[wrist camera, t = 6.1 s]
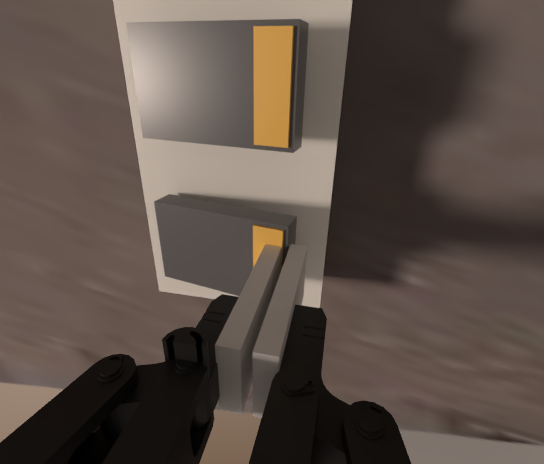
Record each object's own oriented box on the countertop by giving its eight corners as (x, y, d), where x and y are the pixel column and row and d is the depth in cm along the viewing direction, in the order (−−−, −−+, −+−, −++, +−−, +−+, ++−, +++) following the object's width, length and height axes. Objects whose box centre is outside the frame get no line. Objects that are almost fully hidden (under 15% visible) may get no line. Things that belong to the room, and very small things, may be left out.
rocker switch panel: (98, -545, 11) (-21, -839, 7) (421, -647, 9) (468, -1092, 6) (186, 258, 24) (159, 290, 21) (323, 276, 23) (318, 314, 19)
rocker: (169, 193, 17) (152, 202, 16) (296, 215, 15) (287, 227, 14) (178, 265, 19) (163, 277, 18) (292, 294, 17) (283, 310, 16)
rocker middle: (145, 25, 14) (123, 22, 13) (308, 23, 12) (299, 18, 11) (159, 133, 16) (141, 138, 15) (301, 147, 14) (292, 153, 13)
